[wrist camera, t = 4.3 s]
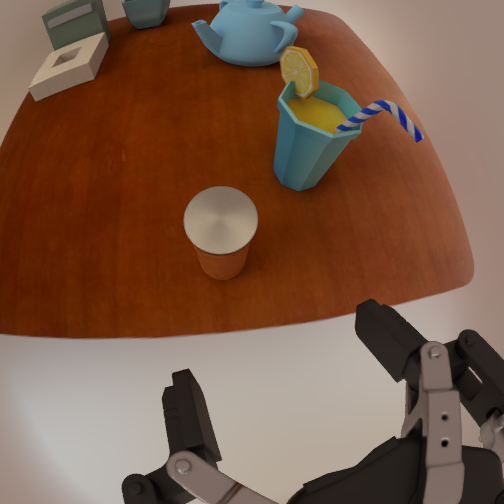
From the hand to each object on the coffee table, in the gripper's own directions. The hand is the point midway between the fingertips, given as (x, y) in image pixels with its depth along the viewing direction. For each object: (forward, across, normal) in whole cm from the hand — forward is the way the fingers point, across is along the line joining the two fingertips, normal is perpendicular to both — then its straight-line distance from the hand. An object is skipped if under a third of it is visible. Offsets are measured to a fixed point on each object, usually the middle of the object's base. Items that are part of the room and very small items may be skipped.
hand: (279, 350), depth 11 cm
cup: (+20, -11, -1) cm, 23 cm away
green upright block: (+53, +16, -35) cm, 66 cm away
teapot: (+39, -15, -21) cm, 47 cm away
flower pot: (+55, 0, -36) cm, 66 cm away
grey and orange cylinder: (+15, 0, +3) cm, 16 cm away
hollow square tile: (+47, +18, -28) cm, 57 cm away
